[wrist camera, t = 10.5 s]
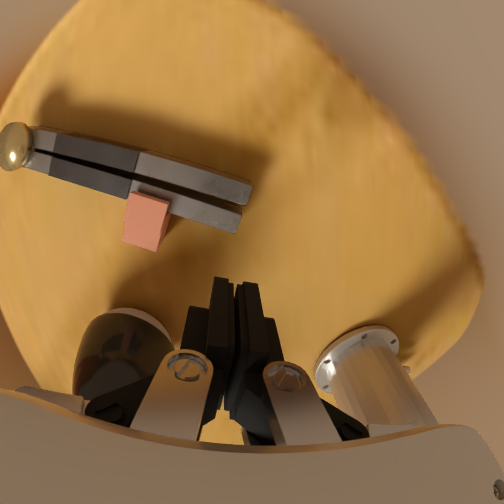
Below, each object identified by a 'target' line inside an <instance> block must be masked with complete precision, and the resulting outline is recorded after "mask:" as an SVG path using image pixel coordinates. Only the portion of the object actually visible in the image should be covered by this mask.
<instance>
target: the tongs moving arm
mask: <svg viewBox="0 0 504 504" xmlns="http://www.w3.org/2000/svg"><path fill="white" fill-rule="evenodd" d="M28 127H29V129H30V132H31V136H32V147H34V148H38V149H43V150H47V151H52V152H54V153H58V154H62V155H67V156H71V157H75V158H79V159H83V160H87V161H91V162H95V163H99V164H103V165H107V166H110V167H114V168H118V169H122V170H125V171H129V172H135V173H138V174H142V175H146V176H149V177H153V178H156V179H160V180H163V181H166V182H170V183H173V184H177V185H180V186H183V187H187V188H190V189H193V190H196V191H200V192H203V193H206V194H209V195H212V196H216V197H219V198H222V199H225V200H228V201H231V202H234V203H237V204H240V205H243V206H246V204H247V202H248V199H249V196H250V194H251V191H252V188H253V186H252V184H251V182H250V181H249V180H246V179H243V178H240V177H237V176H234V175H231V174H228V173H225V172H222V171H219V170H216V169H213V168H210V167H206V166H203V165H200V164H197V163H193V162H190V161H187V160H183V159H180V158H176V157H173V156H169V155H166V154H162V153H159V152H155V151H151V150H147V149H144V148H140V147H136V146H132V145H128V144H124V143H120V142H116V141H111V140H107V139H103V138H98V137H94V136H89V135H84V134H80V133H75V132H69V131H64V130H59V129H53V128H48V127H42V126H28Z"/></svg>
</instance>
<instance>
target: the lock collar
mask: <svg viewBox="0 0 504 504" xmlns="http://www.w3.org/2000/svg"><path fill="white" fill-rule="evenodd" d="M169 204H170V202H168V201H165V200H162V199H158V198H155V197H152V196H149V195H146V194H143V193H140V192H136V191H132V192H130V195H129V199H128V203H127V207H126V212H125V216H124V221H123V223H125V224H126V225H125V230H124V235H123V240H122V241H124V242H126V243H129V244H132V245H135V246H138V247H141V248H144V249H147V250H150V251H153V252H157V250H158V248H159V246H160V244H161V242H162V241H163V239H164V237H165V233H166V230H167V226H168V223H169V219H170V216H171V213H169V212H167V210H168V207H169Z"/></svg>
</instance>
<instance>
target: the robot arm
mask: <svg viewBox="0 0 504 504" xmlns="http://www.w3.org/2000/svg"><path fill="white" fill-rule="evenodd" d="M398 351H399V340H398V338H397V336H396V335H395V333H394V332H393V331H392V330H391V329H389V328H387V327H385V326H381V325H371V326H365V327H362V328H359V329H356V330H353V331H351V332H349V333H347V334H345V335H343V336H342V337H340V338H338V339H337V340H336V341H335V342H333V343H332V344H331V345H330V346H329V347H328V348H327V349H326V350H325V351H324V352H323V353H322V354H321V356H320V357H319V359H318V360H317V362H316V364H315V368H314V378H315V381H316V384H317V386H318V387H319V388H320V389H321V390H323V391H325V392H327V393H331V394H333V395H334V398H335V400H336V403H337V406H338V408H339V409H338V408H336V407H334V406H333V405H331V404H329V403H328V402H326V401H325V400H323V399H321V398H320V397H319V395H318V393H317V391H316V389H315V387H314V385H313V383H312V381H311V380H310V378H309V376H308V374H307V373H306V372H305V370H303V369H302V368H301V367H300V366H298V365H296V364H294V363H290V362H287V361H284V357H283V353H282V349H281V345H280V340H279V336H278V332H277V328H276V324H275V320H274V319H273V318H267V317H264V315H263V309H262V304H261V299H260V293H259V288H258V284H256V283H250V282H244V281H243V284H242V285H240V284H237V287H236V292H235V296H234V285H233V283H229V279H226V278H220V277H214V282H213V288H212V294H211V300H210V305H209V309H206V308H200V307H195V306H189V310H188V315H187V319H186V323H185V328H184V333H183V337H182V342H181V346H180V349H179V350H175V351H172V352H170V353H168V354H167V355H166V356H165V357H164V358H163V360H162V362H161V364H160V366H159V368H158V370H157V372H156V373H155V374H153V375H150V376H148V377H145V378H143V379H141V380H138V381H136V382H133V383H131V384H128V385H126V386H123V387H121V388H118V389H116V390H113V391H110V392H108V393H105V394H102V395H100V396H97V397H95V398H94V399H92V400H91V401H90V400H84V399H83V396H77V395H70V394H64V393H58V392H53V391H48V390H43V389H38V388H34V387H26V386H24V387H20V388H18V389H16V390H15V391H13V390H7V389H1V388H0V504H504V472H503V470H502V468H501V466H500V464H499V463H498V461H497V459H496V457H495V456H494V454H493V452H492V450H491V449H490V448H489V446H488V444H487V443H486V441H485V440H484V439H483V438H482V436H481V435H480V434H479V433H478V432H477V431H476V430H475V429H473V428H470V427H467V426H463V425H456V424H439V423H438V422H437V420H436V418H435V416H434V415H433V414H432V412H431V410H430V408H429V407H428V405H427V403H426V402H425V400H424V398H423V397H422V395H421V394H420V392H419V391H418V389H417V387H416V386H415V384H414V383H413V381H412V379H411V378H410V376H409V375H408V374H409V372H410V367H409V366H402V364H401V363H400V361H399V360H398V358H397V355H398ZM223 395H224V410H226V411H230V419H233V420H235V421H236V422H237V423H239V424H240V425H241V426H242V428H241V431H242V437H243V441H244V445H233V444H220V443H210V442H201V441H199V440H200V436H201V433H202V428H203V425H205V424H207V423H208V422H210V421H211V420H213V419H214V418H215V416H216V411H217V410H220V407H221V403H222V399H223Z"/></svg>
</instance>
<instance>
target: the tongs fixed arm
mask: <svg viewBox="0 0 504 504" xmlns="http://www.w3.org/2000/svg"><path fill="white" fill-rule="evenodd" d="M0 166H1V167H2V168H3V169H4V170H5V171H13V170H16V169H19V168H21V167H25V168H29V169H32V170H35V171H38V172H42V173H45V174H48V175H49V176H52V177H56V178H59V179H62V180H65V181H69V182H72V183H75V184H78V185H81V186H85V187H88V188H91V189H94V190H97V191H100V192H104V193H107V194H110V195H113V196H116V197H119V198H123V199H129V195H130V192H132V191H136V192H140V193H143V194H146V195H149V196H152V197H155V198H158V199H162V200H165V201H168V202H170V204H169V207H168V210H167V212H169V213H172V214H175V215H178V216H181V217H184V218H187V219H190V220H193V221H196V222H199V223H202V224H205V225H208V226H211V227H214V228H217V229H220V230H223V231H226V232H229V233H232V234H235V233H236V230H237V228H238V225H239V223H240V220H241V217H242V213H241V208H240V206H238V205H235V204H232V203H229V202H226V201H223V200H221V199H218V198H215V197H212V196H209V195H206V194H203V193H200V192H197V191H194V190H191V189H188V188H185V187H182V186H179V185H175V184H172V183H169V182H166V181H163V180H160V179H156V178H153V177H149V176H146V175H142V174H138V173H135V172H129V171H125V170H122V169H118V168H114V167H110V166H107V165H103V164H99V163H95V162H91V161H87V160H83V159H79V158H75V157H71V156H67V155H62V154H58V153H54V152H52V151H47V150H43V149H38V148H34V147H32V136H31V132H30V129H29V127H28V126H27V125H26V124H25V123H22V122H13V123H9V124H8V125H6V126H5V127H4V128H3V130H2V131H1V133H0Z"/></svg>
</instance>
